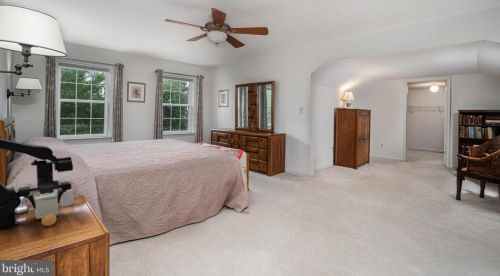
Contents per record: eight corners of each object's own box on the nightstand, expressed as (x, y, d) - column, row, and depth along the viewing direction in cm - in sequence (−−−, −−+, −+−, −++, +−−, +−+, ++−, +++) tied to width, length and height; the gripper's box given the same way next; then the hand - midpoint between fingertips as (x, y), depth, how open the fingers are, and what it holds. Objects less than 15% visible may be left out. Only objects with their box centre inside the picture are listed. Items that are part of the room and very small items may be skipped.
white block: (35, 213, 116) (34, 197, 115) (56, 209, 121) (55, 194, 120) (36, 219, 110) (35, 202, 109) (58, 214, 115) (57, 198, 114)
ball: (38, 226, 106) (38, 215, 106) (51, 222, 111) (50, 211, 110) (47, 228, 105) (46, 217, 104) (59, 223, 109) (59, 212, 109)
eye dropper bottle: (60, 205, 130) (59, 182, 129) (73, 202, 134) (72, 181, 133) (61, 207, 127) (60, 184, 126) (74, 205, 131) (73, 182, 130)
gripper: (16, 180, 101) (19, 217, 103) (72, 174, 114) (73, 207, 115) (17, 175, 109) (19, 209, 111) (69, 169, 122) (70, 200, 124)
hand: (46, 206), depth 115 cm, fingers closed on white block, 8 cm apart
